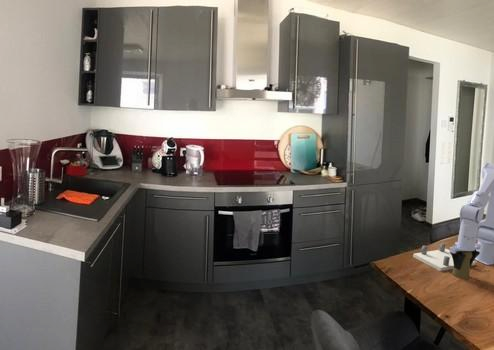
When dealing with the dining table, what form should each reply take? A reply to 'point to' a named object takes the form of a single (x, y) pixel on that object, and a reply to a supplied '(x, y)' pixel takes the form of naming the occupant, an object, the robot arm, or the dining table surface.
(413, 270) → the dining table surface
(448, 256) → the peg board
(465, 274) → the olive rounded cylinder
